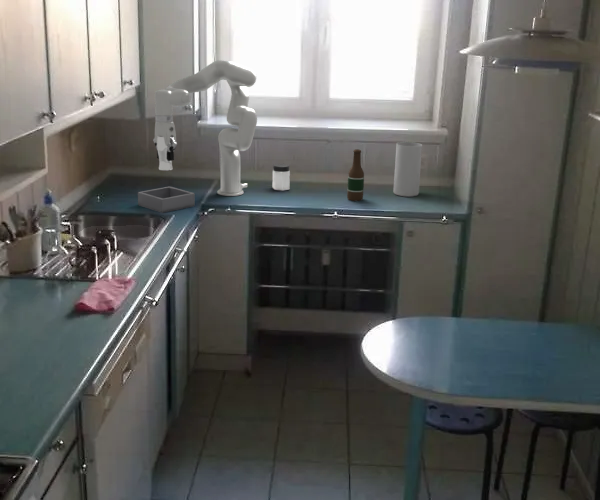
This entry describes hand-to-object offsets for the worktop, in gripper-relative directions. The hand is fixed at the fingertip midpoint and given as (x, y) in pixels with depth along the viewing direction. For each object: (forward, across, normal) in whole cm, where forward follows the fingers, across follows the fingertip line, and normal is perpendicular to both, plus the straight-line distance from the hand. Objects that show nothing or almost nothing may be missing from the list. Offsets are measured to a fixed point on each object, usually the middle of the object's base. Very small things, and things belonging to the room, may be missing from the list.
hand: (165, 158), depth 337 cm
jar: (+22, -10, -64) cm, 68 cm away
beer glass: (+5, 0, 0) cm, 5 cm away
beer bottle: (+22, -49, -75) cm, 92 cm away
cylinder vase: (+22, -59, -103) cm, 121 cm away
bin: (+21, 0, 0) cm, 21 cm away
